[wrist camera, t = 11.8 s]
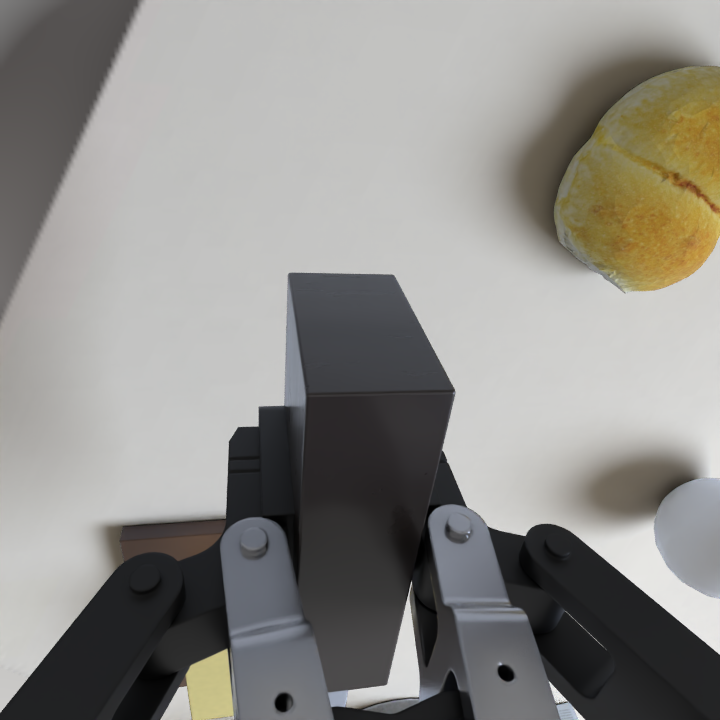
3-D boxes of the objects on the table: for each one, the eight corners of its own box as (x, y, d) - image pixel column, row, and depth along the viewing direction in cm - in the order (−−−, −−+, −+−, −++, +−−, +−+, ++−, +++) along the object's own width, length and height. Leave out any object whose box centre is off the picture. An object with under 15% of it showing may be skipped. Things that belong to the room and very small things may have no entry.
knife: (287, 271, 12) (305, 394, 8) (394, 273, 12) (457, 391, 9) (276, 707, 22) (281, 849, 18) (334, 699, 23) (352, 836, 19)
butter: (195, 674, 38) (192, 722, 35) (185, 596, 33) (180, 646, 30) (254, 667, 39) (255, 713, 36) (253, 590, 34) (254, 637, 31)
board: (154, 676, 39) (152, 691, 38) (122, 526, 30) (119, 541, 29) (348, 652, 42) (350, 666, 41) (371, 509, 33) (374, 522, 32)
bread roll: (781, 137, 24) (866, 161, 21) (625, 296, 27) (677, 338, 24) (678, 6, 20) (762, 9, 17) (512, 208, 23) (556, 244, 20)
